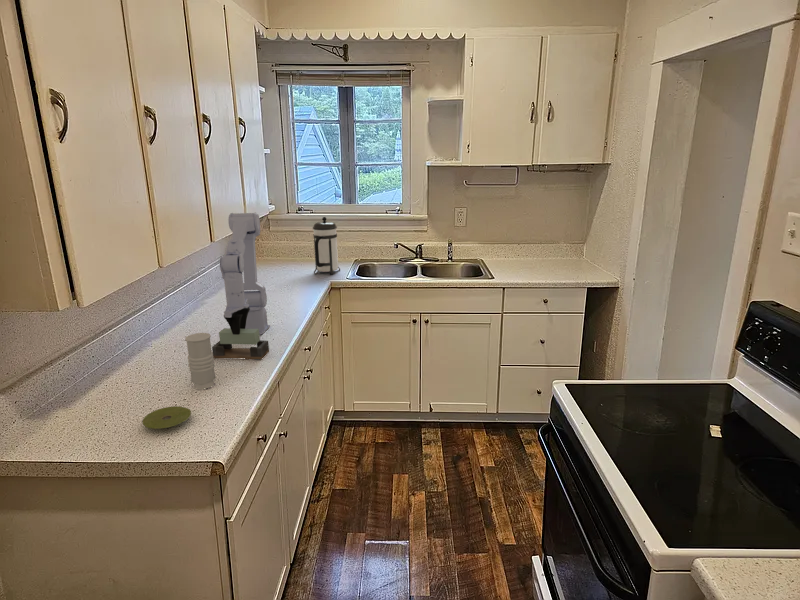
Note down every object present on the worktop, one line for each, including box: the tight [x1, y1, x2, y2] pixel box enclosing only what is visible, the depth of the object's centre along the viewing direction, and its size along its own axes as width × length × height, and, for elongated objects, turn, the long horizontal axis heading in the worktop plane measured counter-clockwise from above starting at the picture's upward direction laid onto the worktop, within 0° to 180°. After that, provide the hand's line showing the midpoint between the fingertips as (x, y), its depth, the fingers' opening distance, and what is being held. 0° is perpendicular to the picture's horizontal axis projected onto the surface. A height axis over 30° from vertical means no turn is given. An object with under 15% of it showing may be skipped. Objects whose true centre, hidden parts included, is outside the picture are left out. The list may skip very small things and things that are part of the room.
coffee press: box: [312, 216, 341, 276], centre depth 282 cm, size 17×16×30 cm
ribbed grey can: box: [184, 332, 217, 390], centre depth 152 cm, size 7×7×15 cm
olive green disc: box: [142, 405, 192, 430], centre depth 133 cm, size 11×11×2 cm
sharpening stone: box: [218, 327, 261, 346], centre depth 174 cm, size 4×12×4 cm, turn 84°
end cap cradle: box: [211, 339, 270, 360], centre depth 175 cm, size 7×16×4 cm, turn 84°
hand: (239, 331), depth 174 cm, fingers closed on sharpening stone, 4 cm apart
